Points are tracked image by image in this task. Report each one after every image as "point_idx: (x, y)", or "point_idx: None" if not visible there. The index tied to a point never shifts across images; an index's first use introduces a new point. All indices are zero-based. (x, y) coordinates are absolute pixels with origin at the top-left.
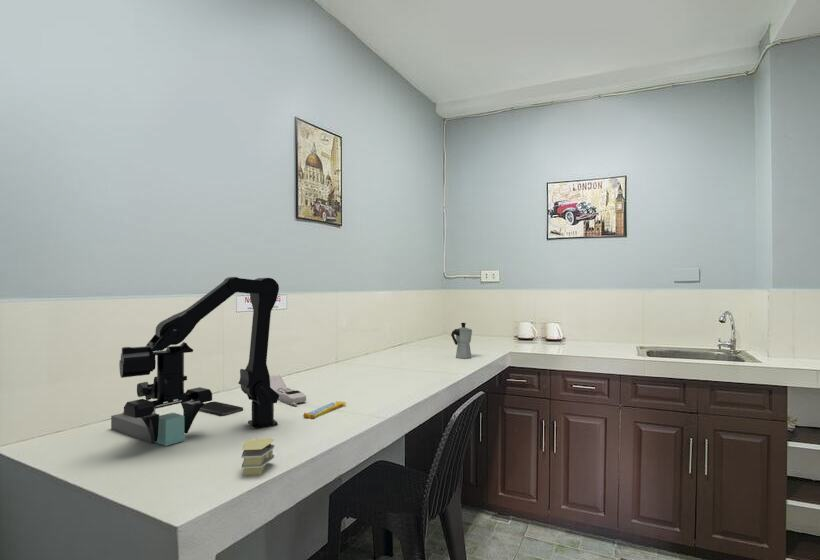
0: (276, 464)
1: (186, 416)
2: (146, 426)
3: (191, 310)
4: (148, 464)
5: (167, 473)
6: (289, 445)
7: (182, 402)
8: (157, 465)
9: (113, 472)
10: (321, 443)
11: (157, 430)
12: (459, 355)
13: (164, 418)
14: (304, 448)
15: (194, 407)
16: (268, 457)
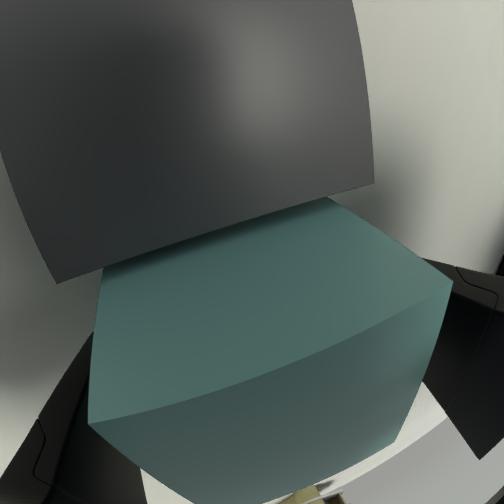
0: (334, 483)
1: (442, 340)
2: (14, 120)
3: None
4: None
5: (153, 499)
6: (414, 423)
7: (496, 495)
8: None
9: (8, 455)
10: (435, 420)
11: None
12: None
13: (222, 495)
14: (409, 437)
15: (474, 451)
16: (328, 501)
